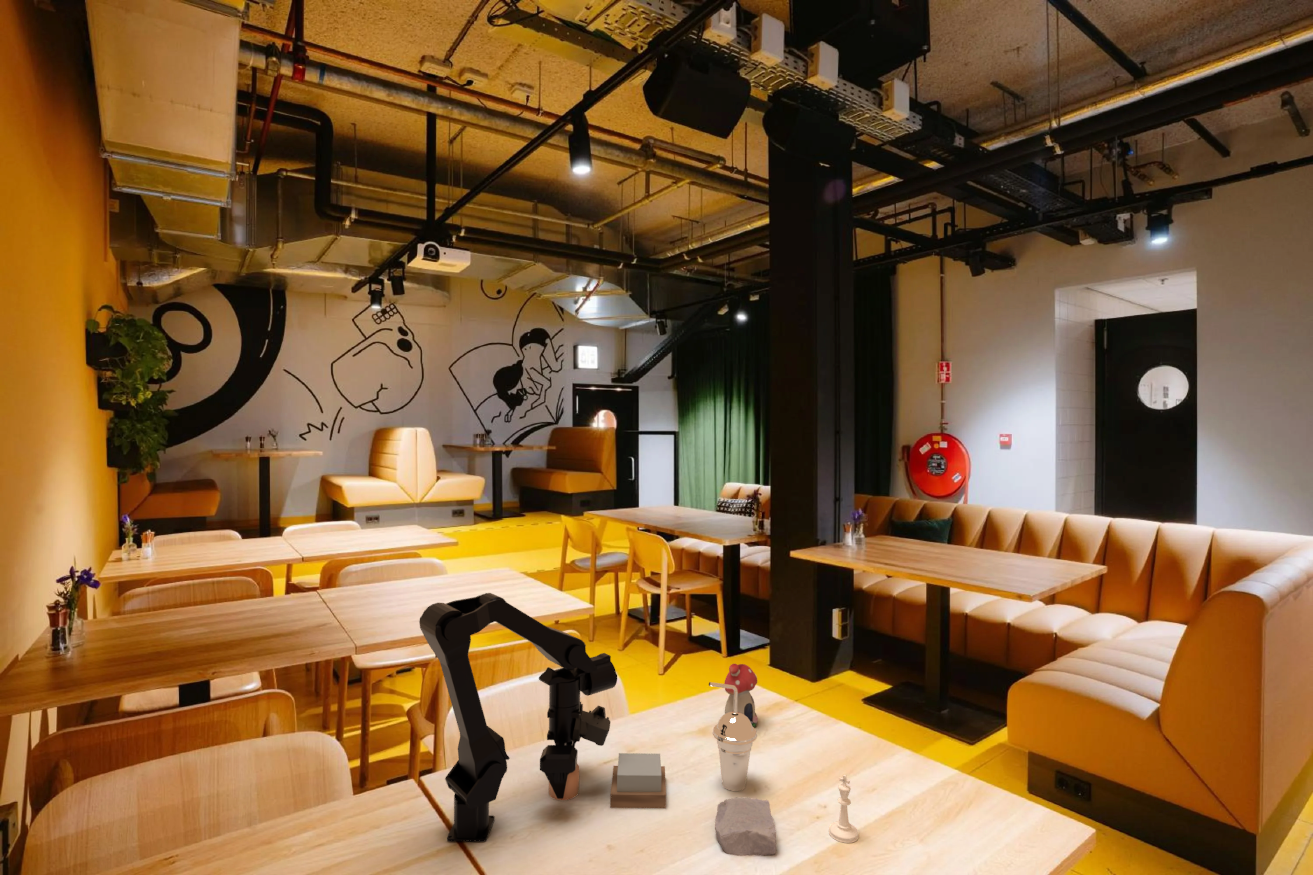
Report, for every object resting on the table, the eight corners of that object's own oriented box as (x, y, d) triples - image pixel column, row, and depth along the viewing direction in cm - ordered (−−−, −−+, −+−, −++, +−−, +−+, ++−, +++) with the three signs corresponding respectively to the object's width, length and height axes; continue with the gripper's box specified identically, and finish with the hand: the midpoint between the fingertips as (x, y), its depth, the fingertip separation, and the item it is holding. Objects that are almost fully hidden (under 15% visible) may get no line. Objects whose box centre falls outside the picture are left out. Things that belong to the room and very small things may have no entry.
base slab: (665, 811, 118) (666, 794, 118) (610, 810, 118) (610, 794, 118) (664, 781, 128) (664, 766, 128) (613, 780, 128) (613, 765, 128)
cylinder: (577, 800, 120) (577, 776, 120) (546, 800, 120) (546, 775, 120) (580, 783, 126) (580, 760, 126) (551, 783, 126) (551, 760, 126)
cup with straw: (751, 800, 121) (753, 692, 120) (704, 791, 124) (705, 685, 123) (759, 777, 129) (761, 676, 128) (714, 769, 132) (716, 670, 131)
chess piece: (835, 821, 115) (837, 764, 115) (863, 832, 112) (864, 774, 112) (823, 834, 111) (824, 776, 111) (851, 846, 108) (852, 786, 108)
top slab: (661, 791, 119) (661, 775, 119) (616, 791, 119) (617, 775, 119) (659, 768, 127) (660, 753, 127) (618, 768, 127) (618, 753, 127)
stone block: (721, 867, 105) (782, 856, 105) (715, 837, 105) (776, 826, 105) (715, 825, 117) (771, 815, 117) (710, 798, 117) (766, 788, 117)
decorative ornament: (732, 735, 146) (734, 668, 146) (715, 723, 152) (716, 659, 152) (764, 725, 151) (766, 661, 151) (746, 715, 157) (747, 652, 156)
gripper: (604, 724, 113) (603, 814, 114) (610, 682, 132) (609, 759, 132) (539, 724, 113) (538, 813, 114) (555, 681, 132) (554, 758, 132)
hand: (563, 784), depth 123 cm, fingers open, 9 cm apart
